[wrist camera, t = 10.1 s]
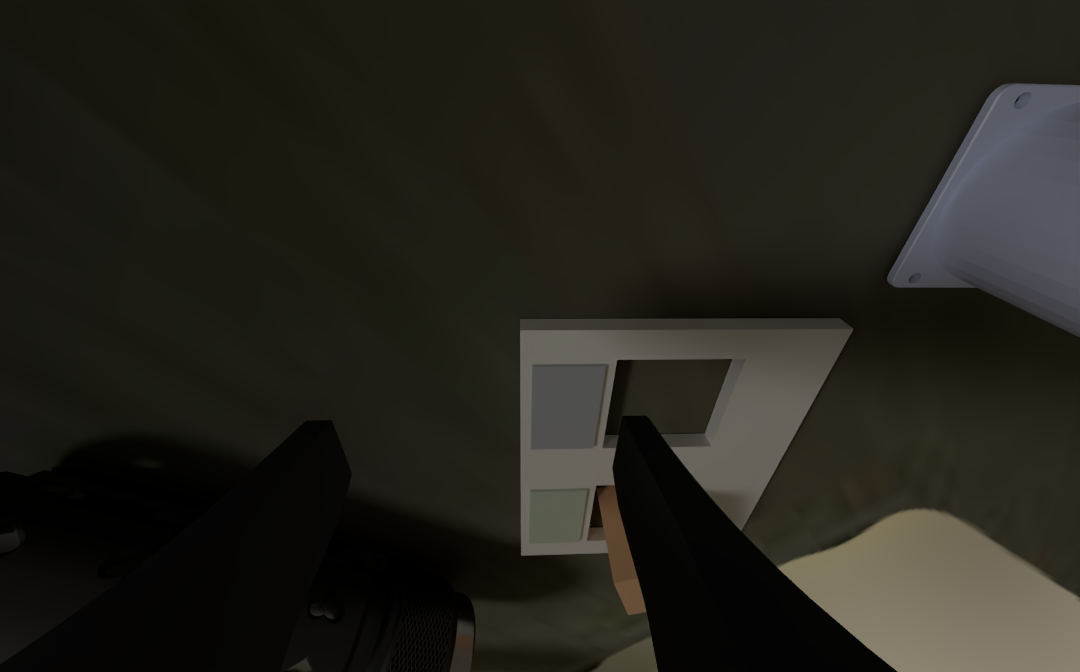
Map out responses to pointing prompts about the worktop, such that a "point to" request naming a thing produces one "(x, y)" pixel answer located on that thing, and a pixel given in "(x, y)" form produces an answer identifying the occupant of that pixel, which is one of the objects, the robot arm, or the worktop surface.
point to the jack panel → (712, 457)
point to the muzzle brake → (149, 524)
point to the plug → (620, 552)
